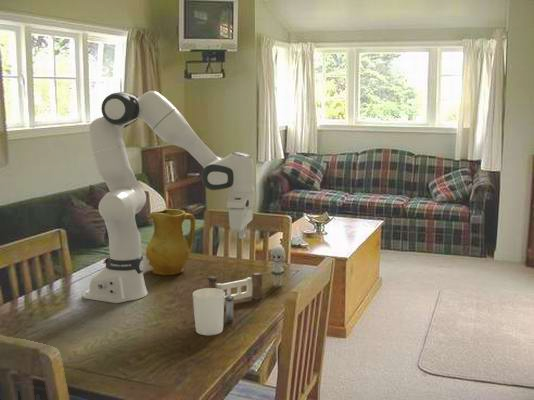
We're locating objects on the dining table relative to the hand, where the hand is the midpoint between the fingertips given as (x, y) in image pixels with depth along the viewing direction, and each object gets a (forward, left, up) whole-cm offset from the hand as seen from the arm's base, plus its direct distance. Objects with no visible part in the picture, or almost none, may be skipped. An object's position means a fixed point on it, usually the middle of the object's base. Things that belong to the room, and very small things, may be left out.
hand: (242, 238), depth 229 cm
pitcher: (-36, +25, -21) cm, 49 cm away
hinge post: (-7, -15, -21) cm, 27 cm away
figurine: (+10, +15, -21) cm, 28 cm away
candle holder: (-2, -34, -21) cm, 41 cm away
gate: (-1, -9, -20) cm, 21 cm away
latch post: (+2, -26, -21) cm, 34 cm away
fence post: (+6, -2, -21) cm, 22 cm away
